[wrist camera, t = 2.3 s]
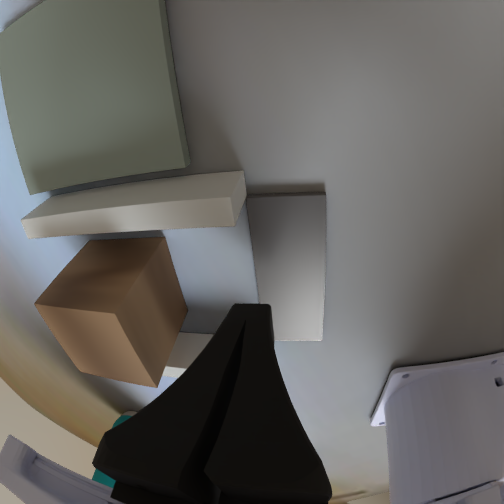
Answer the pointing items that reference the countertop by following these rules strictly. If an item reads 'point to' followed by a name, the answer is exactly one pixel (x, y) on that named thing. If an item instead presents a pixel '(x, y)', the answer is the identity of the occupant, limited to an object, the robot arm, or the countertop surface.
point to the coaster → (92, 92)
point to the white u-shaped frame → (213, 215)
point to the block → (117, 309)
